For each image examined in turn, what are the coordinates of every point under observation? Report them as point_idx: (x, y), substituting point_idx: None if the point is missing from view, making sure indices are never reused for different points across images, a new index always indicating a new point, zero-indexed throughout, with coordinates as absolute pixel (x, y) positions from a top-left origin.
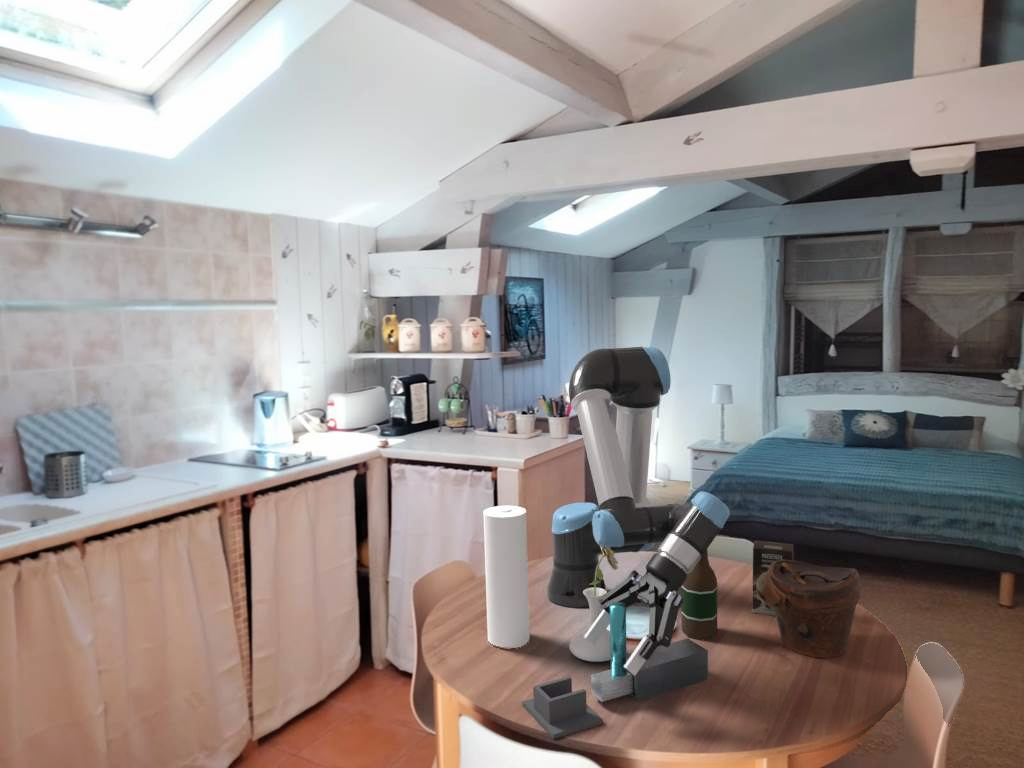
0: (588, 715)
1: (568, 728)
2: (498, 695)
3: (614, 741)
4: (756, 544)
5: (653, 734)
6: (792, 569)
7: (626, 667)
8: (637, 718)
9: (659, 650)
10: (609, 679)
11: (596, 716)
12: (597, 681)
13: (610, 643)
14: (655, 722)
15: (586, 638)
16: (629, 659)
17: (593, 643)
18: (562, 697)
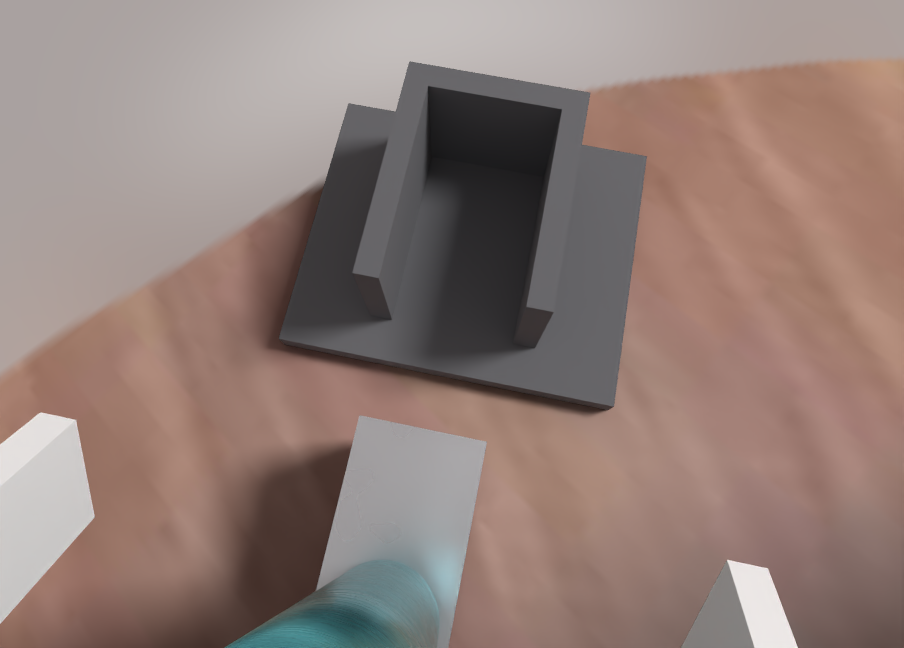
0: (349, 308)
1: (336, 173)
2: (782, 141)
3: (154, 286)
4: None
5: None
6: None
7: (35, 419)
8: (188, 509)
9: None
10: (358, 494)
11: (315, 330)
12: (407, 425)
13: (389, 602)
14: (96, 555)
15: (724, 568)
16: (2, 474)
17: (688, 643)
18: (393, 133)
